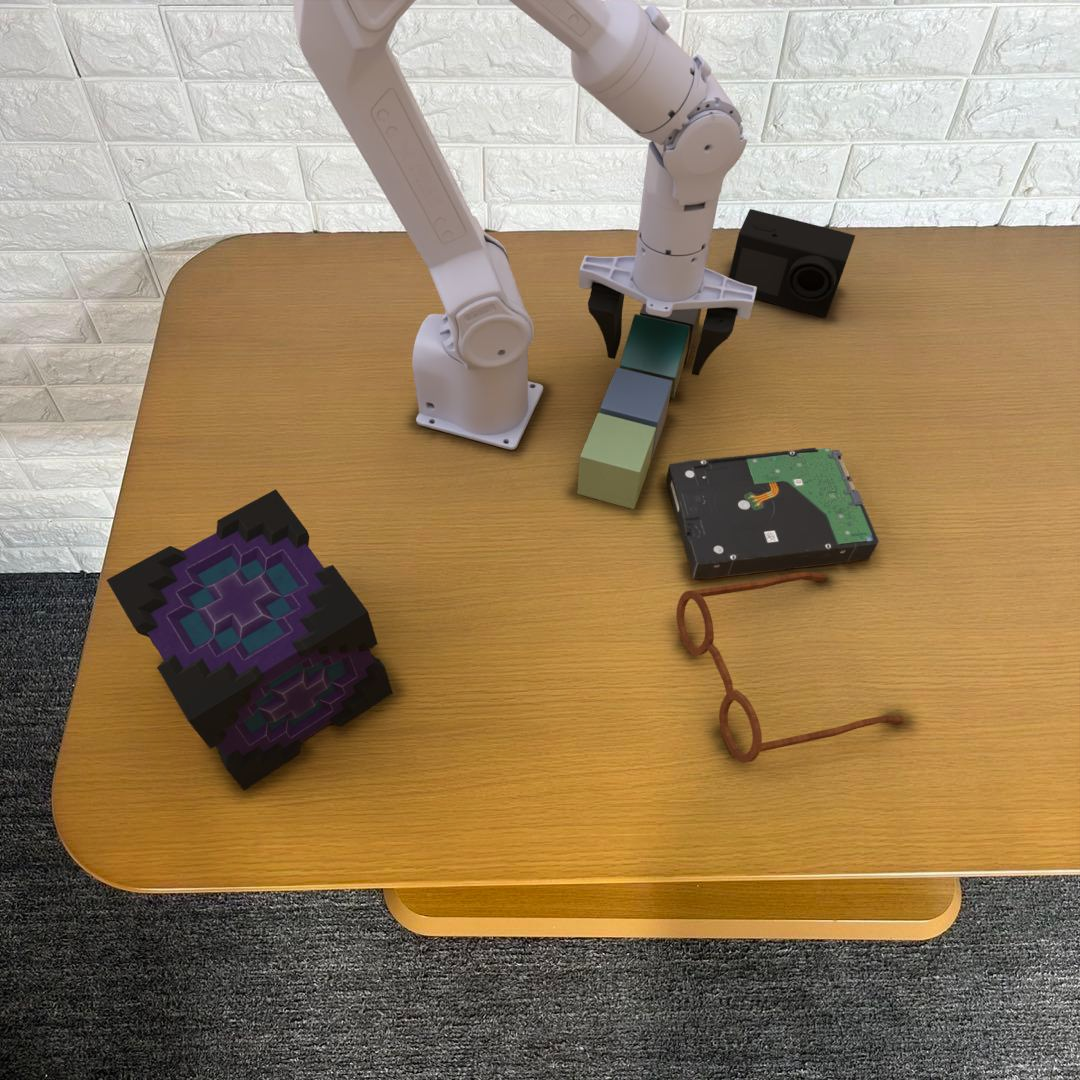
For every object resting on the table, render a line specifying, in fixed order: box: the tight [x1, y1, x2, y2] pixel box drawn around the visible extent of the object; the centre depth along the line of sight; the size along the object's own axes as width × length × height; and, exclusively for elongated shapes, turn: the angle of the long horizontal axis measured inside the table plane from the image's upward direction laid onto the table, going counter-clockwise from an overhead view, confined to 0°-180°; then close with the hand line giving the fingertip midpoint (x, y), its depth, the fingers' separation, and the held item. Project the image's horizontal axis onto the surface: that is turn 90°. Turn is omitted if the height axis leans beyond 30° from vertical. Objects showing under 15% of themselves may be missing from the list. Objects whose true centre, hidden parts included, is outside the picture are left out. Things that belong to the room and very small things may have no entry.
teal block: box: [619, 313, 690, 399], centre depth 81 cm, size 5×5×5 cm
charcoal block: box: [639, 303, 702, 365], centre depth 84 cm, size 5×5×5 cm
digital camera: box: [728, 208, 856, 319], centre depth 87 cm, size 10×5×7 cm, turn 67°
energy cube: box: [106, 489, 394, 791], centre depth 61 cm, size 12×12×12 cm
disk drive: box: [665, 447, 880, 580], centre depth 73 cm, size 10×3×15 cm
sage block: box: [577, 412, 656, 510], centre depth 75 cm, size 5×5×5 cm
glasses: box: [676, 571, 906, 764], centre depth 65 cm, size 13×13×5 cm
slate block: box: [599, 366, 672, 461], centre depth 78 cm, size 5×5×5 cm
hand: (654, 359), depth 82 cm, fingers open, 7 cm apart
